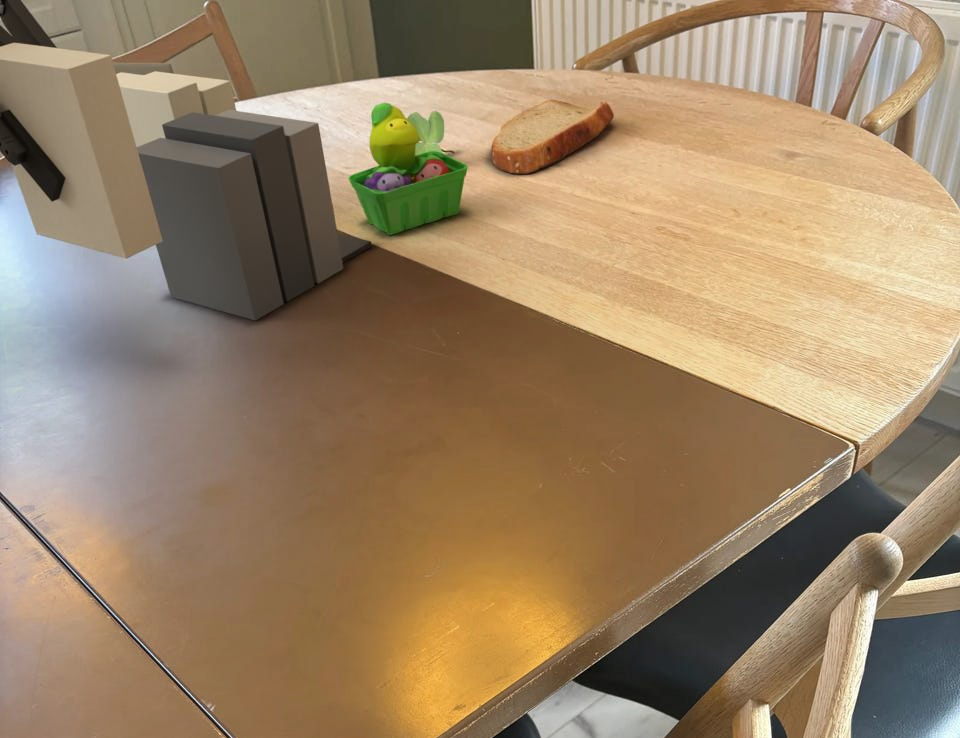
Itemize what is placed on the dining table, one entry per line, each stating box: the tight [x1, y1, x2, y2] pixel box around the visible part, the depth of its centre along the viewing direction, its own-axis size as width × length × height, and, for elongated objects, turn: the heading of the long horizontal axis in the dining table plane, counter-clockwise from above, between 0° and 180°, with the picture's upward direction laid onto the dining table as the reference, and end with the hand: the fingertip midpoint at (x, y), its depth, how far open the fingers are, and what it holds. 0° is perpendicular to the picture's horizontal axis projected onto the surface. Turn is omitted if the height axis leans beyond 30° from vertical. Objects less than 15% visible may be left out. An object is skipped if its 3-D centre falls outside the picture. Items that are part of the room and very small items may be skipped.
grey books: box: [137, 110, 373, 322], centre depth 100 cm, size 19×12×15 cm, turn 145°
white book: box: [0, 43, 163, 259], centre depth 82 cm, size 4×12×14 cm, turn 55°
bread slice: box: [490, 99, 615, 175], centre depth 126 cm, size 18×18×4 cm
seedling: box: [406, 110, 456, 155], centre depth 126 cm, size 7×8×7 cm
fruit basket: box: [348, 102, 469, 236], centre depth 109 cm, size 11×9×11 cm
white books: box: [116, 71, 237, 147], centre depth 115 cm, size 14×12×15 cm
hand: (81, 180), depth 84 cm, fingers closed on white book, 4 cm apart
